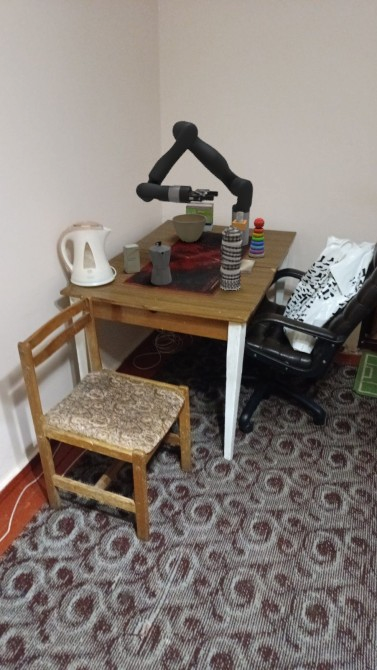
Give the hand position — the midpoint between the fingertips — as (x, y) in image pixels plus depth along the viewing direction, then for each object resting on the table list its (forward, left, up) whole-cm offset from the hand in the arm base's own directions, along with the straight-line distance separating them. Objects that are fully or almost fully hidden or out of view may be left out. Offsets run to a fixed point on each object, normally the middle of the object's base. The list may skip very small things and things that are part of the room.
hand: (215, 196), depth 199 cm
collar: (+10, +5, -14) cm, 17 cm away
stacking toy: (+8, +24, -32) cm, 41 cm away
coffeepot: (-7, -29, -32) cm, 44 cm away
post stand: (+10, +5, -32) cm, 34 cm away
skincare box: (-25, -29, -32) cm, 50 cm away
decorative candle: (+21, -16, -32) cm, 42 cm away
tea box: (-44, +43, -32) cm, 69 cm away
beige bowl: (-35, +23, -32) cm, 53 cm away
